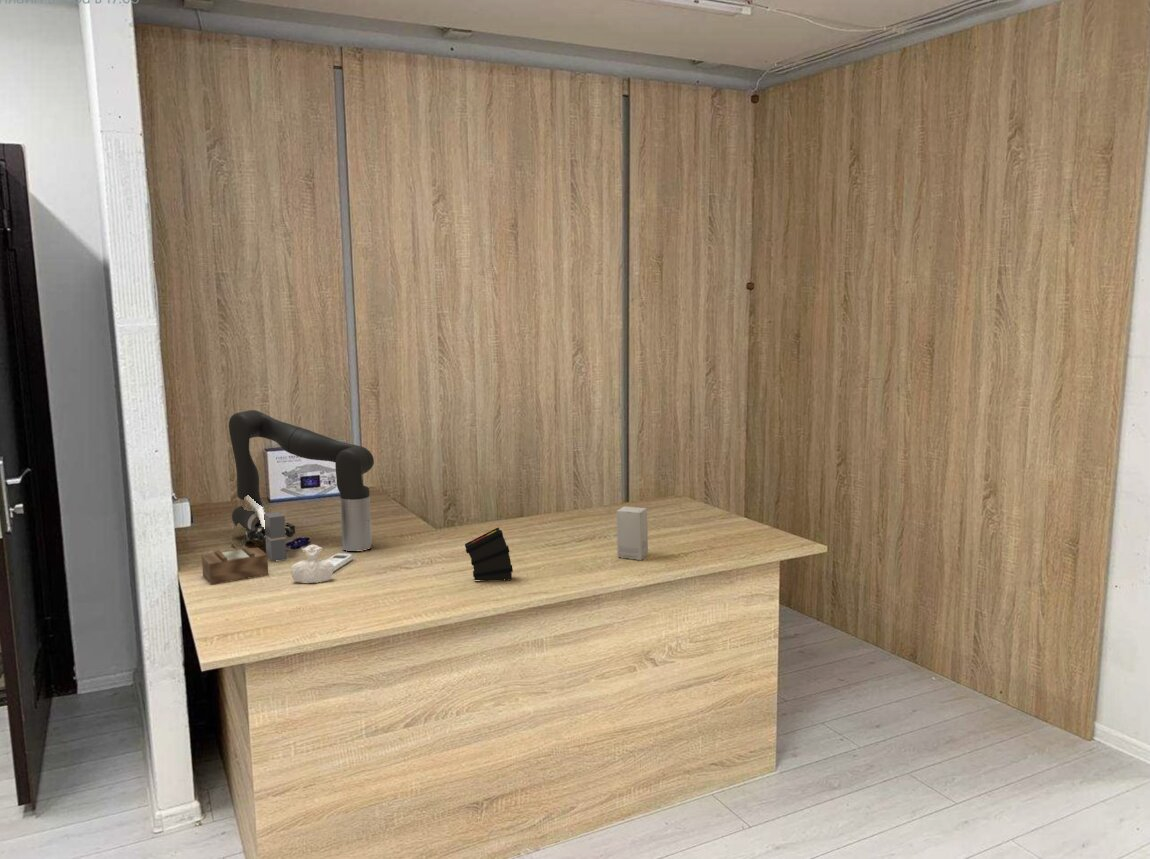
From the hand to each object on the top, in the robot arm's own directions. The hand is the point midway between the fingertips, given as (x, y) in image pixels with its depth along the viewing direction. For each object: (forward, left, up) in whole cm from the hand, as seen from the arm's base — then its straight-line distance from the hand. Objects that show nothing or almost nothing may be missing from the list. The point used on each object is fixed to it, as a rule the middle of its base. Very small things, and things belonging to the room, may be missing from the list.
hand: (277, 536), depth 273 cm
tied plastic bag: (-13, +23, -8) cm, 28 cm away
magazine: (-63, +31, -8) cm, 71 cm away
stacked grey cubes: (+1, -2, -8) cm, 8 cm away
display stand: (+10, +14, -8) cm, 19 cm away
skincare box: (-109, +16, -8) cm, 111 cm away
